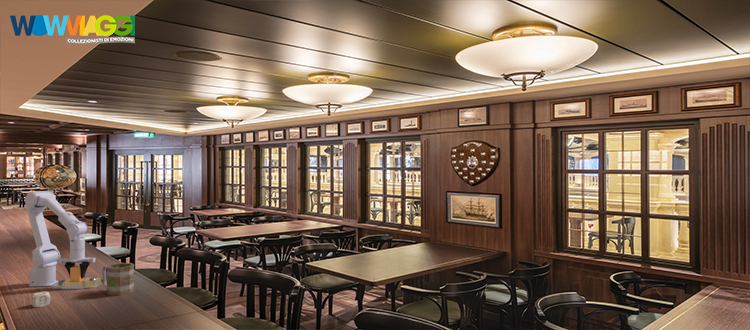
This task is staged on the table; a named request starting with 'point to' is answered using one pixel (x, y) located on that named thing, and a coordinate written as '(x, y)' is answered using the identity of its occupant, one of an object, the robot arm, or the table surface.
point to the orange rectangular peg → (75, 274)
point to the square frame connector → (78, 284)
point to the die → (40, 299)
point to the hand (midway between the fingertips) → (77, 278)
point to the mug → (119, 279)
